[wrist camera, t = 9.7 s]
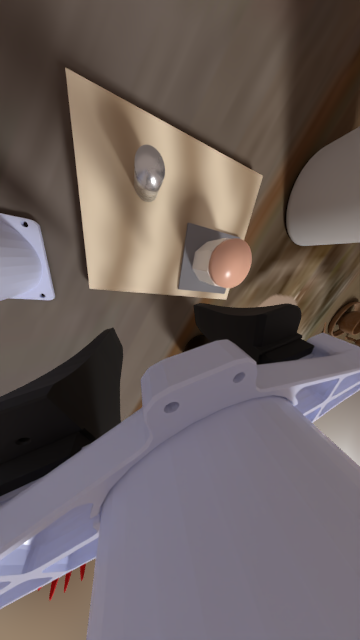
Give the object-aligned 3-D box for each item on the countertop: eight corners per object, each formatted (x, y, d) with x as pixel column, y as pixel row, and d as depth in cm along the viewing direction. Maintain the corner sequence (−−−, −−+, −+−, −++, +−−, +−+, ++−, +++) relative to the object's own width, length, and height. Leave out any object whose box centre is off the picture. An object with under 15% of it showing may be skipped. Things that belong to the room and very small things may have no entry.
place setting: (366, 289, 40) (400, 294, 35) (346, 336, 51) (370, 345, 46) (323, 315, 39) (352, 323, 33) (311, 358, 49) (332, 370, 44)
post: (133, 197, 14) (134, 180, 11) (134, 166, 13) (134, 138, 10) (157, 205, 14) (163, 191, 11) (158, 176, 13) (166, 152, 10)
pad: (177, 288, 19) (178, 289, 19) (187, 223, 16) (188, 222, 16) (223, 293, 22) (224, 293, 22) (238, 238, 19) (240, 237, 18)
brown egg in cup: (190, 279, 19) (207, 285, 14) (197, 239, 17) (219, 232, 12) (219, 283, 20) (242, 290, 16) (228, 247, 18) (258, 244, 14)
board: (92, 286, 17) (89, 288, 16) (73, 89, 11) (65, 67, 10) (221, 297, 24) (226, 299, 23) (253, 181, 18) (262, 175, 16)
